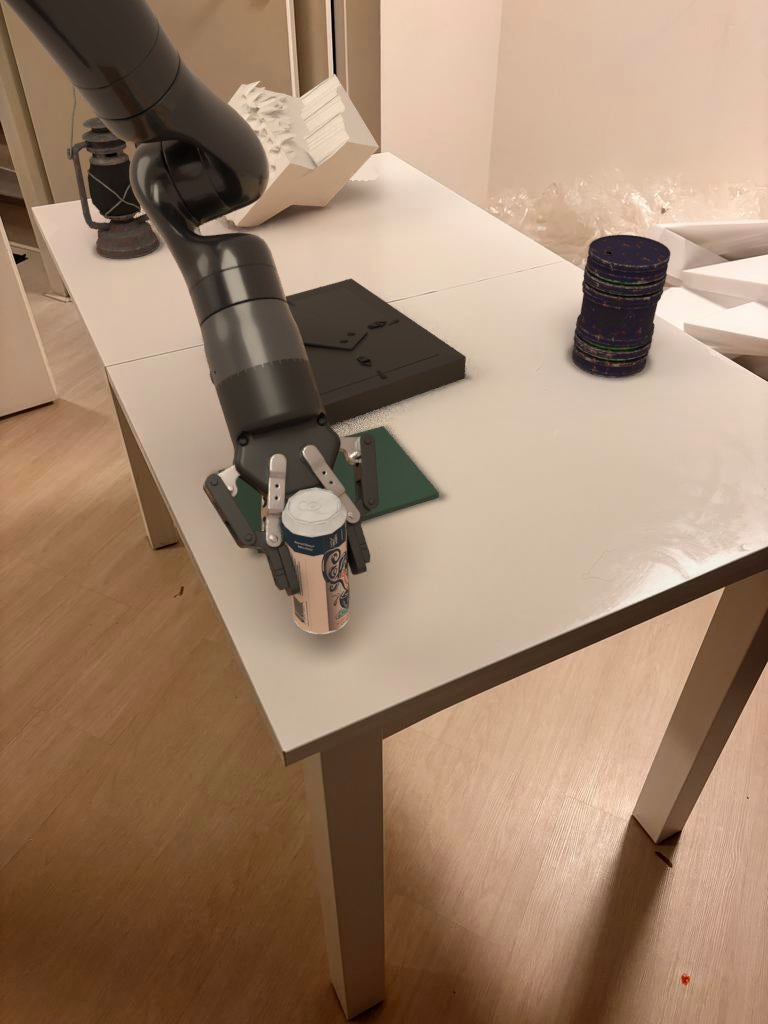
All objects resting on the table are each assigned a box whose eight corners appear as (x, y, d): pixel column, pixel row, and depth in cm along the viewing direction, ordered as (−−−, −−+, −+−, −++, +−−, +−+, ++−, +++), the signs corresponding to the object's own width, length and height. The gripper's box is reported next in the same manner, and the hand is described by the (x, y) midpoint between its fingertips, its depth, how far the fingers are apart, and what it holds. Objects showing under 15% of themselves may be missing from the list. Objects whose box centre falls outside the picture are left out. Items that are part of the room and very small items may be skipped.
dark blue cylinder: (621, 336, 112) (643, 230, 102) (661, 370, 104) (688, 259, 95) (557, 348, 109) (573, 240, 100) (594, 383, 102) (614, 271, 92)
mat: (258, 553, 79) (257, 548, 78) (218, 474, 88) (218, 470, 88) (439, 497, 85) (439, 492, 85) (383, 430, 95) (383, 425, 94)
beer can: (349, 638, 64) (344, 526, 57) (290, 638, 64) (277, 525, 57) (352, 595, 68) (347, 484, 60) (296, 595, 68) (284, 483, 60)
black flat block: (210, 338, 113) (305, 434, 94) (205, 310, 110) (303, 404, 91) (352, 297, 122) (464, 377, 104) (351, 271, 119) (466, 348, 101)
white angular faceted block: (221, 237, 142) (306, 135, 126) (178, 162, 143) (257, 52, 127) (296, 238, 158) (379, 147, 142) (256, 171, 159) (334, 74, 143)
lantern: (153, 229, 144) (116, 38, 125) (173, 249, 137) (136, 50, 118) (84, 243, 140) (34, 47, 120) (100, 264, 133) (50, 60, 113)
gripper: (172, 379, 56) (244, 612, 55) (359, 337, 61) (428, 552, 60) (167, 406, 63) (231, 613, 63) (336, 367, 68) (396, 560, 67)
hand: (327, 582), depth 61 cm, fingers closed on beer can, 4 cm apart
